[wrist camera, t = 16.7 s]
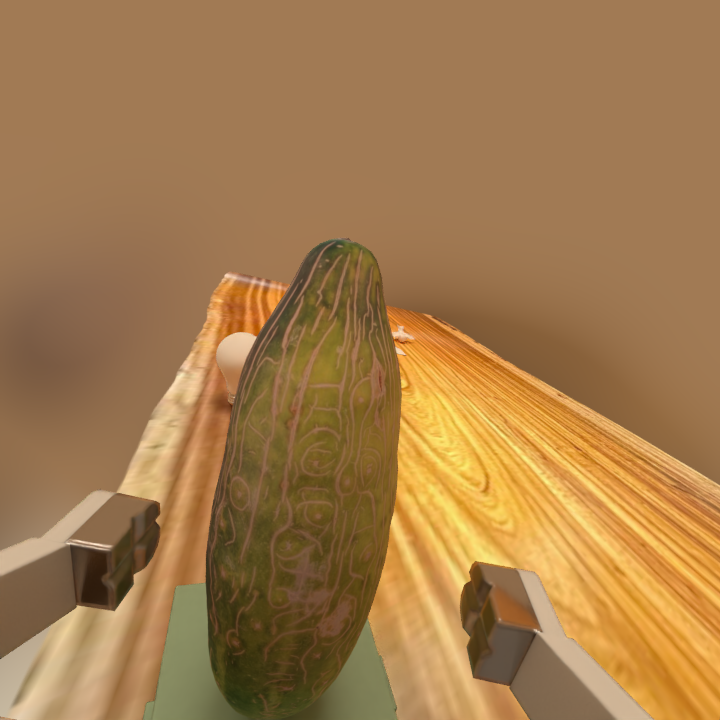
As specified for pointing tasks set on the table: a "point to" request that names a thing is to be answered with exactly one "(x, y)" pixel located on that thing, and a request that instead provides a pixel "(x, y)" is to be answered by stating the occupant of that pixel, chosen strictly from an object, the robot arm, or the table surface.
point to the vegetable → (305, 488)
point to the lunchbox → (208, 706)
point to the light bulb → (233, 359)
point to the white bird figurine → (401, 334)
